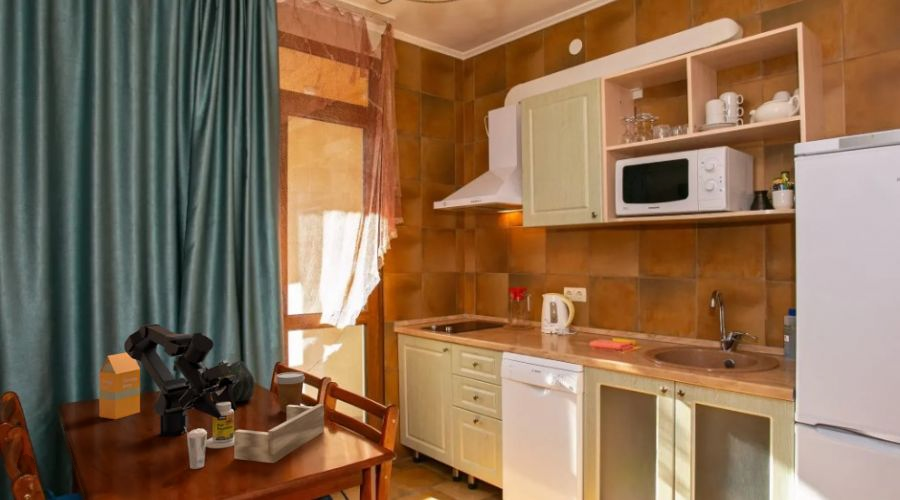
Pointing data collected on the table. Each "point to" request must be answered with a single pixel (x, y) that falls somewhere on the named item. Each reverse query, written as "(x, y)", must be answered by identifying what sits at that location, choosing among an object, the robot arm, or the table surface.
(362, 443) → the table surface
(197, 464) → the milkshake
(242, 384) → the squash
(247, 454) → the wooden u-shaped barrier
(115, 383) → the orange juice
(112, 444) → the table surface
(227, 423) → the supplement bottle
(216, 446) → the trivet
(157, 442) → the table surface
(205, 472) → the table surface
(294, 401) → the disposable coffee cup
